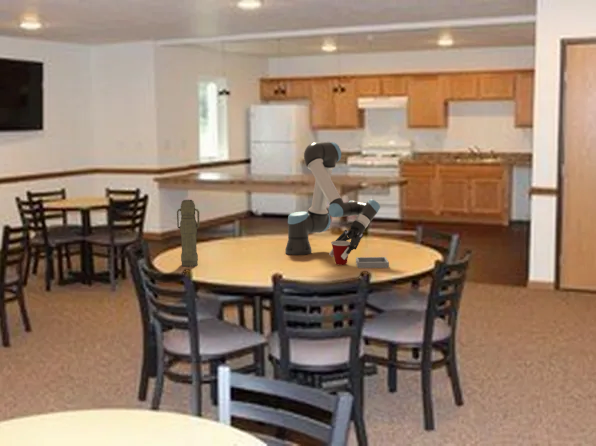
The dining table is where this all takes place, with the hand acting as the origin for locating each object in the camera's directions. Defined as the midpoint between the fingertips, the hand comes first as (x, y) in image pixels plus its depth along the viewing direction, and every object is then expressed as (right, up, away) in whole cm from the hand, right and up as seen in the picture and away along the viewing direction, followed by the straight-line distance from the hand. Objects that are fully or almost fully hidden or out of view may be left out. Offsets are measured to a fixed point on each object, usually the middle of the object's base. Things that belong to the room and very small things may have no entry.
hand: (336, 256), depth 423 cm
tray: (+19, -4, -1) cm, 19 cm away
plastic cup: (+3, -4, +2) cm, 6 cm away
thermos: (-78, -5, +6) cm, 79 cm away
